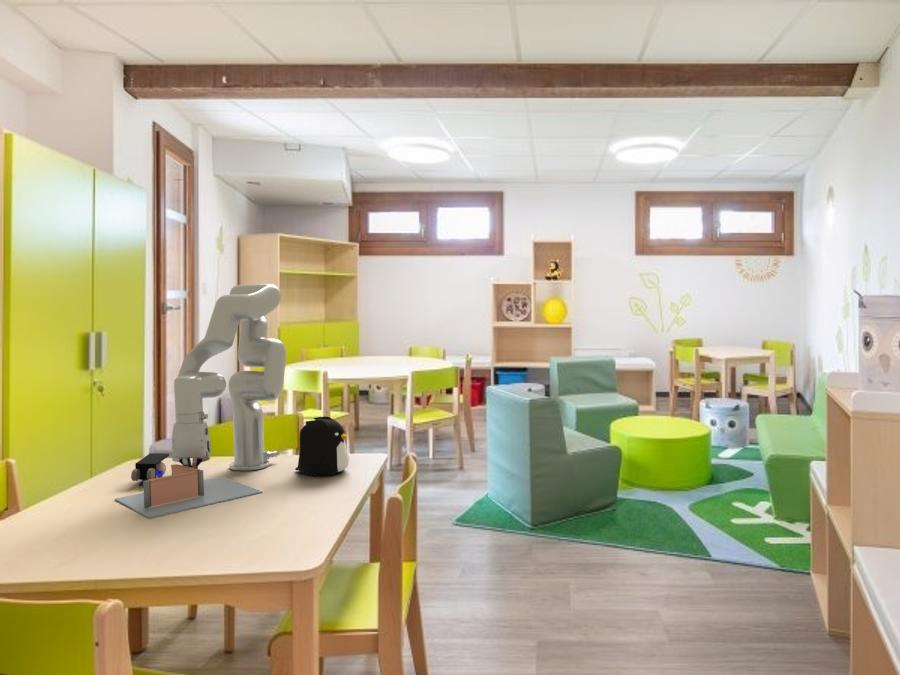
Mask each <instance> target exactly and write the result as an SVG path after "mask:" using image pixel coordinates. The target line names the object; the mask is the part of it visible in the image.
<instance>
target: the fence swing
mask: <svg viewBox="0 0 900 675" xmlns="http://www.w3.org/2000/svg"><path fill="white" fill-rule="evenodd" d="M170 468H171V469H170V470H171V475H176V474H181V473H186V472H191V471H198V470H201V468H198V469H196V468H192V467H187V466H183V465H182V464H178V463H174V464H170Z"/></svg>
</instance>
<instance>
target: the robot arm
mask: <svg viewBox="0 0 900 675" xmlns="http://www.w3.org/2000/svg"><path fill="white" fill-rule="evenodd" d="M281 296H282V295H281V291H280V289H279V288H278V287H277V285H275V284H271V283H250V284H249V283H242V284H237V285H234V286H233V287H231V289H230V291H229V294H226V295H222V296H220V297H219V298H217V300H216V301H215V305H214V306H213V311H212V314H211V316H210V320H209V322H208V326H207V329H206V332H205V335H204V338H203V339H201V340H200V341H199V342H198V343H197V344H196V345H194V347H192V349H191V350H190V351H189V352H188V353H187V354H186V356H185V357H184V359H183V361H182V364H181V366H180V368H179V372H178V376H177V377H175V379H174V381H173V387H174V390H173V392H174V393H173V394H174V407H175V408H174V409H175V414H174V416H175V423H173V425H172V432H171V433H172V434H171V456H172V462H175V463H179V464H180V465H183V466H187V467H192V468H196V469H199V466H200V465H201V463H203V462H207V461H209V460H211V455H210V453H211V450H212V447H211V438H210V432H209V431H210V430H209V427H208V424H207V421H205V420H207V419H208V418H209V415H208V413H207V414H206V413H205V411H204V406H203V405H204V404H203V403H204V402H203V399H205V398H206V399H207V398H210V399H211V398H216V397H217V398H218V397H220V396H221V395H223V393H224V391H226V387H227V381H226V378H225V377H224V376H223V375H222V374H221V373H218V372H213V371H212V372H211V371H200V370H201V368H202V366H203V365H204V364H205V363H206V362H207V361H208V360H209V359H212V358H213V357H215V356H217V355H219V354H221V353H223V352H226V351H228V350H229V349H231V347H233V345H234V342H235V338H236V335H237V331H238V327H239V325H240V332H239V333H240V334H239V341H238V349H237V360H238V362H239V364H240V365H241V366H243V367H247V368H264V370H263V371H260V370H239V371H237V372H235V373H233V374H232V375H231V376H230V378H229V380H228V391H229V396H230V400H231V407H232V424H233V425H232V431H233V459H234V461H233V462H231V463H229V469H230V470H232V471H240V472H241V471H242V472H245V471H257V470H258V471H259V470H262V469H265V468H267V467H269V465H270V461H269V459H271V458H277V457H278V454H279V453H278V451H277V450H274V451H269V450H265V442H264V441H265V440H264V439H265V437H264V435H265V434H264V412H263V409H262V407H261V404H260V403H259V401H262V402H265V401H266V402H270V401H271V402H273V401H276V400H278V399H279V398H280V396H281V394H282V392H283V385H284V378H285V371H286V370H285V369H286V362H287V351H286V347H285V344H284V343H283V341H281V340H279V339H276V338H267V337H268V329H269V328H268V322H267V319H266V318H265V316H267V315H268V314H271V313H272V312H273V311H274V310H276V309H277V308H278V306H279V305H280V303H281V300H282V299H281V298H282V297H281ZM240 323H241V324H240ZM191 459H192V460H191Z"/></svg>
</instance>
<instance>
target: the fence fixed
mask: <svg viewBox="0 0 900 675" xmlns="http://www.w3.org/2000/svg"><path fill="white" fill-rule="evenodd" d="M142 486H143V488H142V489H143V493H144V508H148V507H151V506H156V505H161V504H165V503H170V502H174V501H179V500H184V499H188V498H193V497H197V496H204V470H203V469H200V470H198V471H191V472H186V473H181V474H176V475H172V474H170V475H166V476H161V477H159V478H155V479H149V480H146V481H143V485H142Z"/></svg>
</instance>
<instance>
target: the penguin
mask: <svg viewBox="0 0 900 675" xmlns="http://www.w3.org/2000/svg"><path fill="white" fill-rule="evenodd" d="M347 437H349V435H347V434H345V429H344V427H343V426H342V425H341V423H339V422H338V421H337V420H336V419H333V418H331V417H330V416H317V417H313V420H306V421H305V425H303V427H302V428H301V429H300V431H299V454H298V462H297V467H295V471H299V472H301V473H302V474H306V475H308V476H317V477H321V476H324V477H326V476H327V477H330V476H334V475H337V474H341V473H342V472H343V471H345V469H347V468H348V466H349V463H350V462H349V461H350V455H349V453H348V450H347V444H346V440H347Z"/></svg>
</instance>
